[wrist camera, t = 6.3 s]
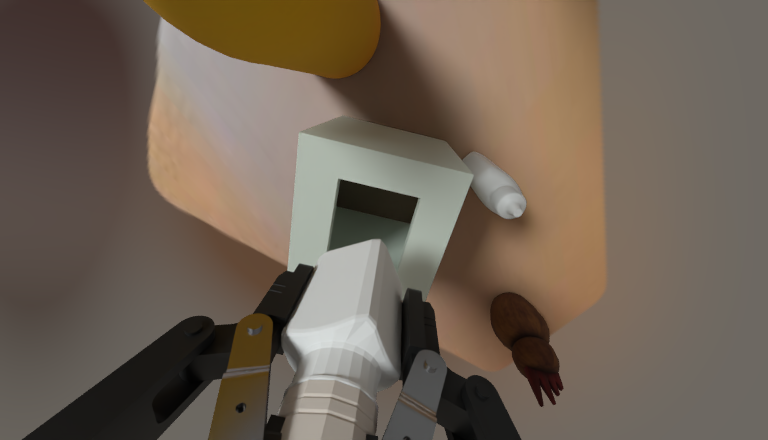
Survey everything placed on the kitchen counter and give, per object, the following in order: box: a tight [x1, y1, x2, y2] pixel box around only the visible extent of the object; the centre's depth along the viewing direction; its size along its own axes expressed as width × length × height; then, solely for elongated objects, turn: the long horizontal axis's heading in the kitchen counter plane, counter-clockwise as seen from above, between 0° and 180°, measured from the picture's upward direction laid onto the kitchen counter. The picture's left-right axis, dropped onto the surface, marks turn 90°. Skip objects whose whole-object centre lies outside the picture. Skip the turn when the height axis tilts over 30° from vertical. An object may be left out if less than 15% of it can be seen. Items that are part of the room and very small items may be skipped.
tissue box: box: [288, 116, 474, 302], centre depth 27 cm, size 12×12×14 cm
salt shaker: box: [277, 239, 402, 440], centre depth 12 cm, size 4×4×10 cm
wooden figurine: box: [490, 293, 563, 407], centre depth 33 cm, size 7×6×15 cm
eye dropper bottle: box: [462, 152, 527, 219], centre depth 27 cm, size 4×6×12 cm
